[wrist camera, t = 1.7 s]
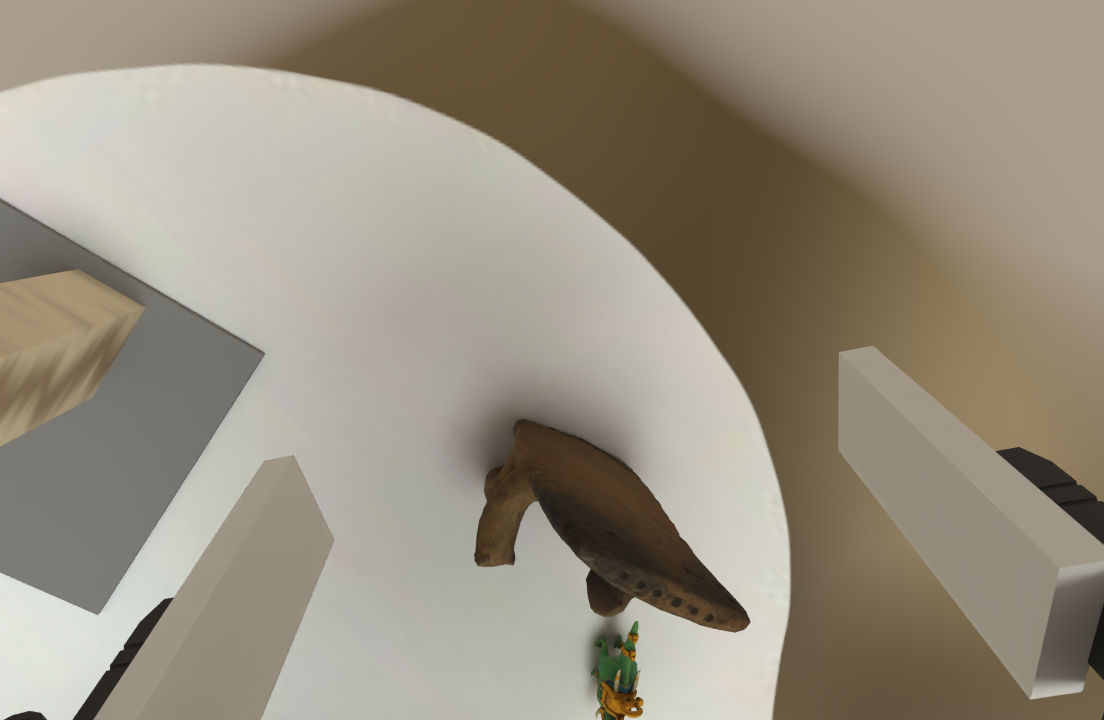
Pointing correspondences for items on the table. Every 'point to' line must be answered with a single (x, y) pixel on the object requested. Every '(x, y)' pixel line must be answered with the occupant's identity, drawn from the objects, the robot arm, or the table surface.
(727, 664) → the table surface
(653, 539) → the figurine
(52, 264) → the rubber mat
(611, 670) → the figurine
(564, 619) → the table surface
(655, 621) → the table surface
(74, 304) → the beech block
